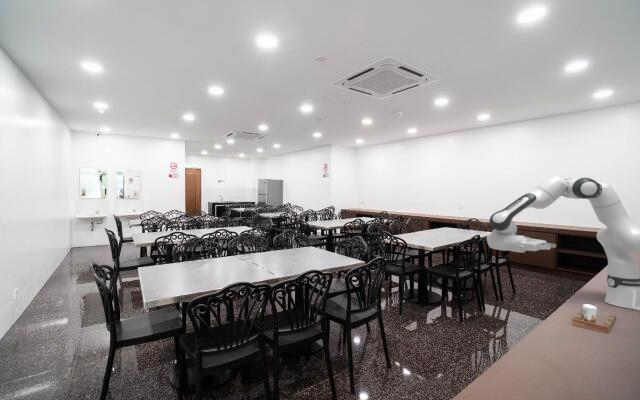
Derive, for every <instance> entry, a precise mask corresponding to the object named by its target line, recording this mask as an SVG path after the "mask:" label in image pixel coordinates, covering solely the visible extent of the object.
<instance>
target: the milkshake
mask: <svg viewBox="0 0 640 400" xmlns="http://www.w3.org/2000/svg"><path fill="white" fill-rule="evenodd" d="M598 305H599V303H598V302H597V303H596V305H592V304H589V303H583V304H582V306H581V307H582V308H583V315H584V318H583V321H587V322H592V323H596V319H597V312H598V308H597V307H598Z"/></svg>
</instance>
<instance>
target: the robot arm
mask: <svg viewBox="0 0 640 400" xmlns="http://www.w3.org/2000/svg"><path fill="white" fill-rule="evenodd" d="M560 197H565V198H567V199H569V198H570V199H574V200H576V199H577V200H579V199H583V200H586V199H587V200H588V202H589V203H590V204H591V208H592V209H593V212H594V213H595V215H596V217H597V220H598V221H599V222H600V223H601V224H603V225H604V226H605V227H602V228H599V230H598V231H597V233H596V240H597V241H598V242H599V243H600V244H601V246H602V247H603V250H604V253H605V254H606V257H607V268H608V269H607V270H608V271H607V272H608V274H607V275H606V281H607V289H606V295H605V298H604V300H603V301H604V303H606V304H609V305H611V306H616V307H620V308H624V309H625V308H626V309H631V310H636V311H640V263H639V261H638V260H637V259H636V258H635V257H634V256H633V254H632V252H640V226H639V225H638V224H637V223H636V222H635V221H634V220H633V218H631V216H630V215H629V214H628V213H627V211H626V209H625V207H624V205H623V203H622V201H621V199H620V197H619V195H618V194H617V192H616V191H615V189H614V188H613V187H612V185H610V184H608V183H607V182H598V181H596V180H595V179H593V178H590V177H580V176H579V177H573V178H571V177H569V178H566V179H564V178H563V177H561V176H558V175H557V176H556V175H555V176H554V175H553V176H550V177H548V178H547V179H545V180H544V181H542V182H541V183H540V184H538V185H537V186H536V187H535V188H533V189H532V190H531V191H529V192H528V193H525V194H523V195H521V196H520V197H518V198H517V199H515V200H514V201H513V202H511V203H510V204H508V205H507V206H506V207H504V208H502V209H500V210H497V211H495V212H494V213H492V214H491V215H490V217H489V225H490V227H491V228H493V230H492V231H491V232H490V233H488V234H487V236H486V243H487V245H488V247H489V248H490V249H493V250H498V251H504V252H505V251H506V252H507V251H510V252H515V253H520V254H522V253H523V254H524V253H525V252H526V251H529V252H537V251H540V250H548V251H549V250H552V249H553V248H554V249H555V248H556V247H557V245H556V243H551V242H550V243H549V242H547V240H543V239H537V238H531V237H529V236H525V235H519V234H517V232H518V227H517V225H516V223H515V222H514V221H513V218H514V217H517V216H518V215H519V214H520V213H521V212H523V211H524V210H527V209H529V208H533V209H536V210H542V209H543V210H544V209H546V208H548V207H550V206H551V205H552V204H554V203H555V202H556V201H557V200H558V199H559V198H560Z"/></svg>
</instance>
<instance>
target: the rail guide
mask: <svg viewBox="0 0 640 400" xmlns="http://www.w3.org/2000/svg"><path fill="white" fill-rule="evenodd" d="M616 320H617V315H616V314H615V313H610V314H609V316H608V317H607V320H606V322H604V324H599V323H596V322H595V323H592V322H587V321H584V315H583V307H582V308H581V309H580V310H579V312H578V313H577V314H576V315H575V316H574V317H572V318H571V325H572V326H575V327H579V328H583V329H588V330H591V331H596V332H599V333H600V332H601V333H603V334H609V333H610V331H611V329H612V327H613V325H614V323H615V321H616Z"/></svg>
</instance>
